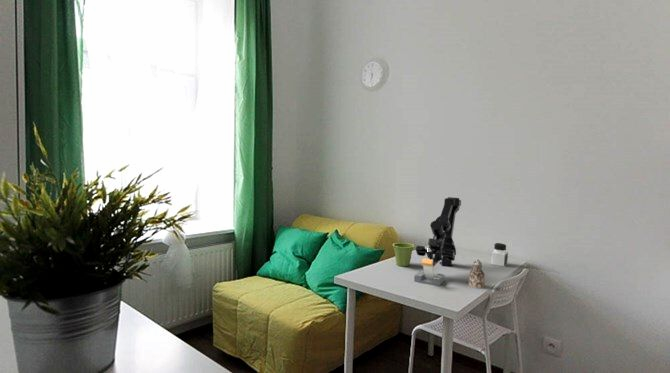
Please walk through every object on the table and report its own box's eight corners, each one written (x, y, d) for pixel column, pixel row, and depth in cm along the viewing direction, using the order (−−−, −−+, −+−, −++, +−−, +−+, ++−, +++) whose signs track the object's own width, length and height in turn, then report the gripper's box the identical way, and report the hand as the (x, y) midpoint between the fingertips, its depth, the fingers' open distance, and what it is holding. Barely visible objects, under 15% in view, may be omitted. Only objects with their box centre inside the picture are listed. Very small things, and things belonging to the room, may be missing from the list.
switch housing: (420, 276, 188) (420, 270, 187) (444, 280, 181) (444, 274, 181) (414, 281, 180) (414, 274, 180) (439, 286, 174) (439, 279, 173)
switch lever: (425, 273, 183) (422, 258, 178) (435, 275, 181) (433, 259, 175) (424, 277, 181) (421, 262, 176) (433, 279, 179) (431, 264, 173)
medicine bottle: (504, 266, 208) (505, 245, 207) (490, 264, 212) (492, 243, 211) (507, 264, 213) (508, 243, 212) (494, 261, 218) (495, 241, 217)
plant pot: (412, 262, 213) (413, 242, 212) (414, 268, 201) (415, 247, 200) (391, 261, 214) (392, 242, 213) (392, 267, 202) (393, 246, 201)
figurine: (466, 286, 175) (467, 260, 174) (470, 282, 181) (471, 257, 180) (482, 289, 171) (484, 263, 170) (486, 285, 177) (487, 260, 176)
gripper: (417, 229, 190) (409, 256, 182) (454, 234, 181) (448, 262, 172) (421, 241, 198) (414, 267, 189) (457, 246, 188) (451, 274, 180)
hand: (431, 267), depth 182 cm, fingers closed
